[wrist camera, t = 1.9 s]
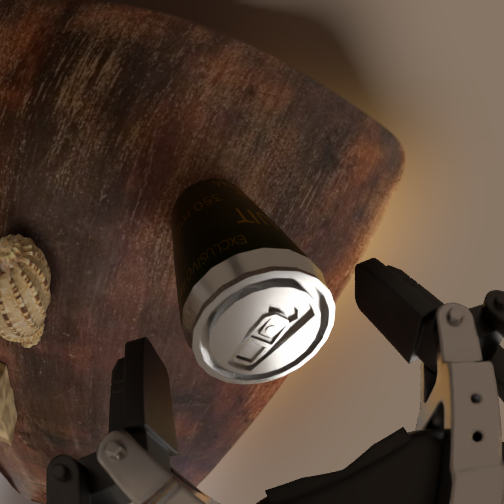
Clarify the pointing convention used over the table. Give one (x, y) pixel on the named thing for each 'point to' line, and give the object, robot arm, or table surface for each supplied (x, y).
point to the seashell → (23, 290)
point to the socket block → (6, 407)
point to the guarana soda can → (244, 287)
